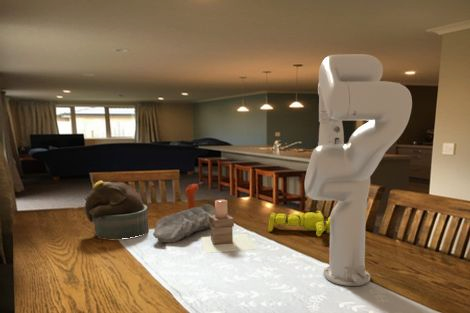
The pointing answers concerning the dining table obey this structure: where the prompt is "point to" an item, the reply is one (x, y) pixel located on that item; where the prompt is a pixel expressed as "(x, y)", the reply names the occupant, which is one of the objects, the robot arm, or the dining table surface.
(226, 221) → the slab top
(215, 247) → the board
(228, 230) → the slab mid
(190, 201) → the toy drill
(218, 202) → the cylinder
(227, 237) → the slab bottom
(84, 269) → the dining table surface
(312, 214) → the toy
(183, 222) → the decorative stone
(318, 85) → the robot arm
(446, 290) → the dining table surface
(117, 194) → the brown blob in bowl
